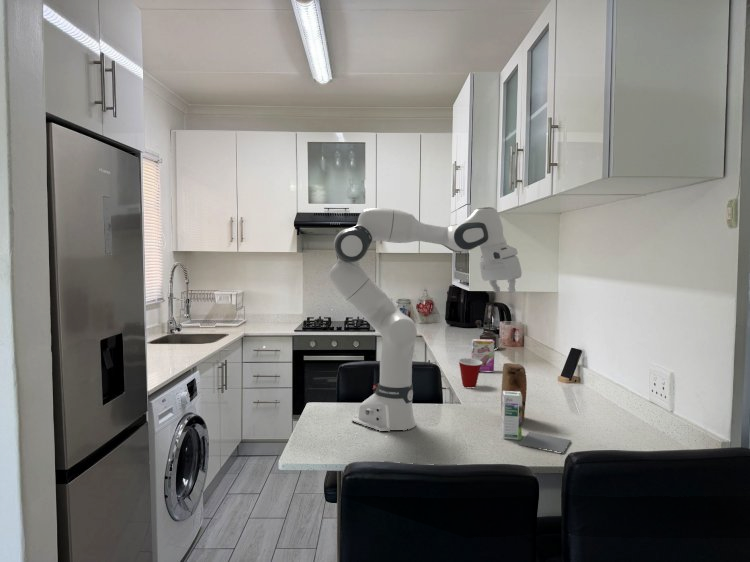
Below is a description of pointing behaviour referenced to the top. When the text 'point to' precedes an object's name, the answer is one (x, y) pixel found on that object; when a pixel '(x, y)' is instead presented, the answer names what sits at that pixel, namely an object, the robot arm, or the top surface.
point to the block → (515, 381)
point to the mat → (545, 442)
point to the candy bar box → (484, 353)
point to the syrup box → (511, 415)
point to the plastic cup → (469, 371)
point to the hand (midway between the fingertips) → (504, 292)
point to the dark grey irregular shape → (488, 334)
